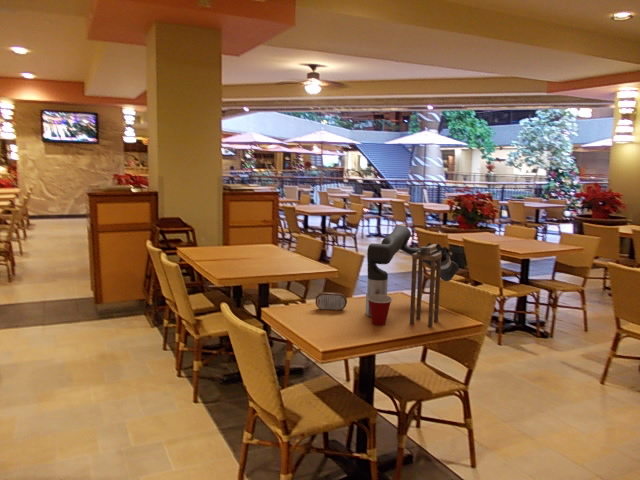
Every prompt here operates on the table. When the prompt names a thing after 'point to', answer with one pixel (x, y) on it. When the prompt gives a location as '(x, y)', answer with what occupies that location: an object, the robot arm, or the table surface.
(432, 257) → the walnut stand
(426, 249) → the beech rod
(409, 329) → the table surface
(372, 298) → the plastic cup
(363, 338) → the table surface
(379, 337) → the table surface
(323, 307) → the tin
